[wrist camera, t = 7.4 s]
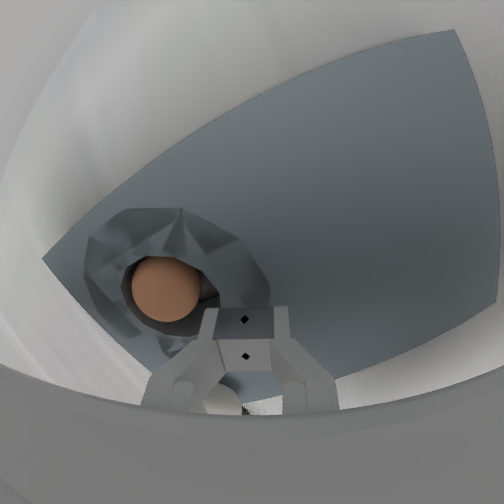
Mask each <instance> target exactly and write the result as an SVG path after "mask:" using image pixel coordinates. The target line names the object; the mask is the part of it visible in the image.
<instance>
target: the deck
mask: <svg viewBox="0 0 504 504" xmlns="http://www.w3.org/2000/svg"><path fill="white" fill-rule="evenodd" d="M144 256H161V257H175V258H177V259H179V260H181V261H183V262H185V263H187V264H189V265H191V266H193V267H195V268H197V269H199V270H201V271H202V272H203V273H204V274H205V275H206V277H207V278H208V279H209V281H210V282H211V283H212V284H213V286H214V287H215V288H216V290H217V291H218V292H219V294H218V296H215V297H213V298H211V299H208V300H206V301H203V302H201V303H197V304H196V306H195V307H194V309H193V310H192V311H191V312H190V313H189V314H188V315H186V316H185V317H183V318H181V319H179V320H176V321H171V322H162V321H157V320H154V319H152V318H150V317H148V316H147V315H146V314H144V313H143V312H142V311H141V310H140V308H139V307H138V306H137V304H136V302H135V300H134V297H133V294H132V278H133V275H134V272H135V270H136V268H137V266H138V265H139V264H140V263H141V258H143V257H144ZM42 260H43V261H44V262H45V263H46V265H47V266H48V267H49V269H50V270H51V271H52V272H53V274H54V275H55V276H56V277H57V279H58V280H59V281H60V282H61V283H62V285H63V286H64V287H65V288H66V289H67V290H68V292H69V293H70V294H71V295H72V296H73V297H74V298H75V299H76V301H77V302H78V303H79V304H80V305H81V306H82V307H83V308H84V309H85V310H86V311H87V313H88V314H89V315H90V316H91V317H92V318H93V319H94V320H95V321H96V322H97V323H98V324H99V325H100V326H101V327H102V328H103V329H104V330H105V331H106V332H107V333H108V334H109V335H110V336H111V337H112V338H113V339H114V340H115V341H117V342H118V343H119V344H120V345H121V346H122V347H123V348H124V349H125V350H126V351H127V352H128V353H130V354H131V355H132V356H133V357H134V358H135V359H136V360H138V361H139V362H140V363H141V364H142V365H143V366H145V367H146V368H147V369H148V370H149V371H151V372H152V373H153V374H154V373H155V372H156V371H158V370H159V369H160V368H161V367H162V366H163V365H165V364H166V363H167V362H168V361H169V360H170V359H172V358H173V357H174V356H175V355H176V354H177V353H179V352H180V351H181V350H182V349H183V348H184V347H186V346H187V345H188V344H189V343H190V342H191V341H192V340H197V338H198V335H199V331H200V327H201V323H202V319H203V315H204V311H205V309H206V308H247V307H268V306H273V309H274V306H281V305H287V306H288V313H289V326H290V338H295V339H296V340H297V341H298V342H299V343H300V344H301V345H302V346H303V347H304V348H305V349H306V350H307V351H308V352H309V353H310V354H311V355H312V356H313V357H314V358H315V359H316V360H317V361H318V362H319V363H320V364H321V365H322V366H323V367H324V368H325V369H326V370H327V371H328V372H329V373H330V374H331V375H332V376H333V377H334V378H335V379H337V378H340V377H343V376H346V375H349V374H352V373H354V372H357V371H360V370H363V369H365V368H368V367H370V366H373V365H375V364H378V363H380V362H383V361H385V360H388V359H390V358H392V357H395V356H397V355H399V354H402V353H404V352H406V351H408V350H410V349H413V348H415V347H417V346H419V345H421V344H423V343H425V342H427V341H429V340H431V339H433V338H435V337H437V336H439V335H441V334H443V333H445V332H447V331H448V330H450V329H452V328H454V327H456V326H457V325H459V324H461V323H463V322H464V321H466V320H468V319H470V318H471V317H473V316H475V315H476V314H478V313H480V312H481V311H483V310H484V309H486V308H487V307H489V306H491V305H492V304H494V303H495V302H496V295H497V286H498V276H499V263H500V204H499V190H498V180H497V172H496V164H495V158H494V152H493V146H492V141H491V136H490V131H489V127H488V122H487V118H486V114H485V110H484V107H483V103H482V100H481V96H480V93H479V90H478V87H477V84H476V81H475V78H474V75H473V72H472V69H471V67H470V64H469V62H468V59H467V57H466V54H465V52H464V49H463V47H462V45H461V43H460V40H459V38H458V36H457V34H456V32H455V30H454V29H453V30H447V31H441V32H436V33H431V34H426V35H421V36H417V37H412V38H408V39H404V40H401V41H397V42H393V43H389V44H386V45H383V46H379V47H376V48H373V49H370V50H366V51H363V52H360V53H357V54H355V55H352V56H349V57H346V58H343V59H341V60H338V61H335V62H333V63H330V64H328V65H325V66H323V67H320V68H318V69H315V70H313V71H311V72H308V73H306V74H304V75H301V76H299V77H297V78H295V79H292V80H290V81H288V82H286V83H284V84H282V85H280V86H277V87H275V88H273V89H271V90H269V91H267V92H265V93H263V94H261V95H259V96H257V97H256V98H254V99H252V100H250V101H248V102H246V103H244V104H242V105H241V106H239V107H237V108H235V109H233V110H232V111H230V112H228V113H226V114H225V115H223V116H221V117H220V118H218V119H216V120H214V121H213V122H211V123H209V124H208V125H206V126H205V127H203V128H201V129H200V130H198V131H197V132H195V133H193V134H192V135H190V136H189V137H187V138H186V139H184V140H183V141H181V142H180V143H178V144H177V145H175V146H174V147H172V148H171V149H169V150H168V151H166V152H165V153H164V154H162V155H161V156H159V157H158V158H156V159H155V160H154V161H152V162H151V163H150V164H148V165H147V166H146V167H144V168H143V169H142V170H140V171H139V172H138V173H136V174H135V175H134V176H132V177H131V178H130V179H128V180H127V181H126V182H125V183H123V184H122V185H121V186H120V187H118V188H117V189H116V190H115V191H113V192H112V193H111V194H110V195H109V196H107V197H106V198H105V199H104V200H103V201H102V202H100V203H99V204H98V205H97V206H96V207H95V208H93V209H92V210H91V211H90V212H89V213H88V214H87V215H86V216H85V217H83V218H82V219H81V220H80V221H79V222H78V223H77V224H76V225H75V226H74V227H73V228H72V229H71V230H69V231H68V232H67V233H66V234H65V235H64V236H63V237H62V238H61V239H60V240H59V241H58V242H57V243H56V244H55V245H54V246H53V247H52V248H51V249H50V250H49V251H48V252H47V254H46V255H45V256H44V257H43V258H42ZM218 383H220V384H223V385H226V386H228V387H229V388H231V389H232V390H233V391H234V392H235V393H236V394H237V396H238V397H239V399H240V402H241V404H243V403H248V402H253V401H257V400H262V399H266V398H271V397H275V396H279V395H283V388H282V386H281V385H280V383H279V382H278V381H277V379H276V378H275V376H274V375H273V374H272V371H233V372H226V373H225V374H224V376H223V377H222V378H221V379H220V381H219V382H218Z"/></svg>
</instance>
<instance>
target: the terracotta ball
mask: <svg viewBox="0 0 504 504" xmlns="http://www.w3.org/2000/svg"><path fill="white" fill-rule="evenodd" d="M200 290H201V284H200V279H199V275H198V273H197V271H196V269H195V267H193V266H191V265H189V264H187V263H185V262H183V261H181V260H179V259H177V258H175V257H161V256H148V257H146V258H145V259H144V260H143V261H141V263H140V264H139V265H138V266H137V268H136V270H135V272H134V275H133V278H132V294H133V297H134V300H135V302H136V304H137V306H138V307H139V308H140V310H141V311H142V312H143V313H144V314H146V315H147V316H148V317H150V318H152V319H154V320H157V321H162V322H171V321H176V320H179V319H181V318H183V317H185V316H186V315H188V314H189V313H190V312H191V311H192V310H193V309H194V307H195V306H196V304H197V302H198V300H199V296H200Z"/></svg>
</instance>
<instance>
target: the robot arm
mask: <svg viewBox="0 0 504 504" xmlns="http://www.w3.org/2000/svg"><path fill="white" fill-rule="evenodd" d="M233 371H272V374H273V375H274V376H275V378H276V379H277V381H278V382H279V383H280V385H281V386H282V388H283V411H282V415H221V414H208V413H207V411H206V409H205V407H204V405H203V403H202V401H203V400H204V399H205V398H206V396H207V395H208V394H209V393H210V392H211V390H212V389H213V388H214V387H215V385H216V384H217V383H218V382H219V381H220V379H221V378H222V377H223V376H224V374H225V373H226V372H233ZM0 504H504V365H503V366H501V367H499V368H497V369H494V370H492V371H489V372H487V373H484V374H482V375H479V376H477V377H474V378H471V379H469V380H466V381H463V382H460V383H457V384H454V385H451V386H448V387H445V388H441V389H438V390H435V391H431V392H428V393H424V394H420V395H416V396H412V397H408V398H404V399H400V400H395V401H390V402H386V403H381V404H375V405H370V406H364V407H357V408H351V409H343V410H339V403H338V397H337V390H336V384H335V378H334V377H333V376H332V375H331V374H330V373H329V372H328V371H327V370H326V369H325V368H324V367H323V366H322V365H321V364H320V363H319V362H318V361H317V360H316V359H315V358H314V357H313V356H312V355H311V354H310V353H309V352H308V351H307V350H306V349H305V348H304V347H303V346H302V345H301V344H300V343H299V342H298V341H297V340H296V339H295V338H290V326H289V313H288V306H287V305H281V306H274V309H273V306H268V307H247V308H206V309H205V311H204V315H203V319H202V323H201V327H200V331H199V335H198V338H197V340H192V341H191V342H190V343H189V344H188V345H187V346H186V347H184V348H183V349H182V350H181V351H180V352H179V353H177V354H176V355H175V356H174V357H173V358H172V359H170V360H169V361H168V362H167V363H166V364H165V365H163V366H162V367H161V368H160V369H159V370H158V371H156V372H155V373H154V374H153V375H152V376H150V378H149V381H148V384H147V387H146V390H145V393H144V396H143V399H142V402H141V405H140V406H139V405H134V404H128V403H123V402H118V401H114V400H109V399H105V398H101V397H96V396H92V395H89V394H85V393H81V392H78V391H74V390H71V389H67V388H64V387H61V386H58V385H55V384H52V383H49V382H46V381H43V380H40V379H37V378H35V377H32V376H29V375H27V374H24V373H22V372H19V371H17V370H14V369H12V368H10V367H7V366H5V365H3V364H1V363H0Z"/></svg>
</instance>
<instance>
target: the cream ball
mask: <svg viewBox="0 0 504 504" xmlns="http://www.w3.org/2000/svg"><path fill="white" fill-rule="evenodd" d="M202 403H203V405H204V407H205V409H206V411H207V413H208V414H221V415H242V406H241V402H240V399H239V397H238V396H237V394H236V393H235V392H234V391H233V390H232V389H231V388H229V387H228V386H226V385H223V384H220V383H217V384H216V385H215V387H214V388H213V389H212V390H211V392H210V393H209V394H208V395H207V396H206V398H205V399H204V400H203V401H202Z"/></svg>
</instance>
